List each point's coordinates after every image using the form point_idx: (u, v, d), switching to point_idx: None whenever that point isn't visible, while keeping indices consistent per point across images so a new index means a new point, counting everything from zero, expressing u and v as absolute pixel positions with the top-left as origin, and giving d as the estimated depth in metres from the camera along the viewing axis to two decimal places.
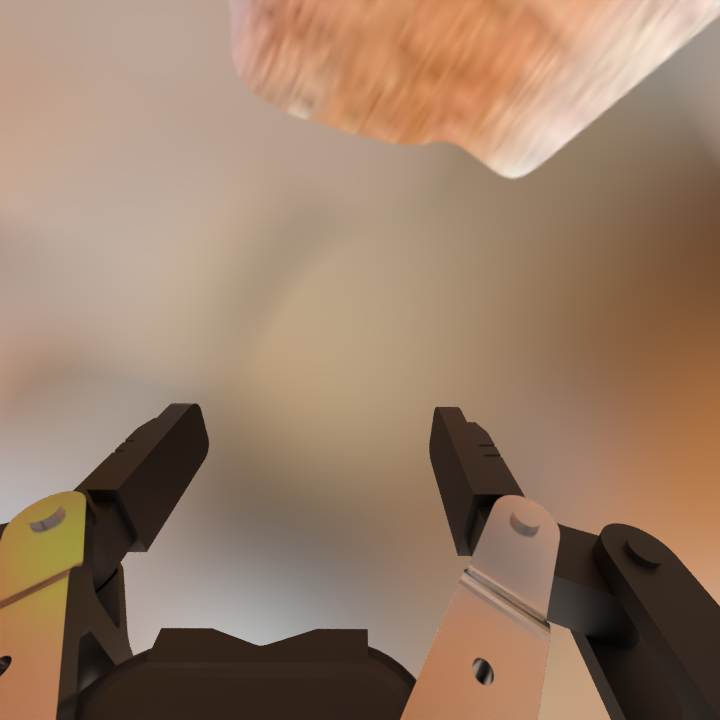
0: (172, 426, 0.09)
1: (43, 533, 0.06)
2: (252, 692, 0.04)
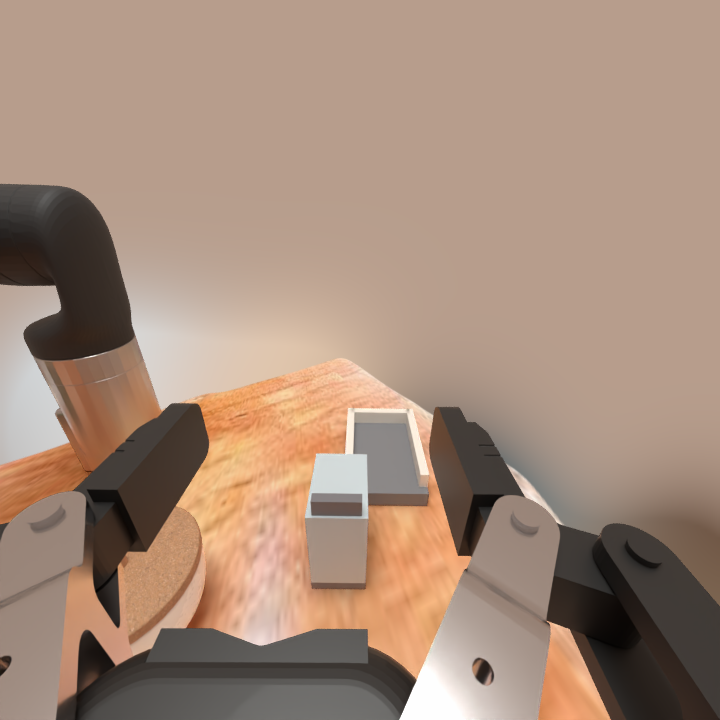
0: (172, 426, 0.09)
1: (43, 533, 0.06)
2: (252, 692, 0.04)
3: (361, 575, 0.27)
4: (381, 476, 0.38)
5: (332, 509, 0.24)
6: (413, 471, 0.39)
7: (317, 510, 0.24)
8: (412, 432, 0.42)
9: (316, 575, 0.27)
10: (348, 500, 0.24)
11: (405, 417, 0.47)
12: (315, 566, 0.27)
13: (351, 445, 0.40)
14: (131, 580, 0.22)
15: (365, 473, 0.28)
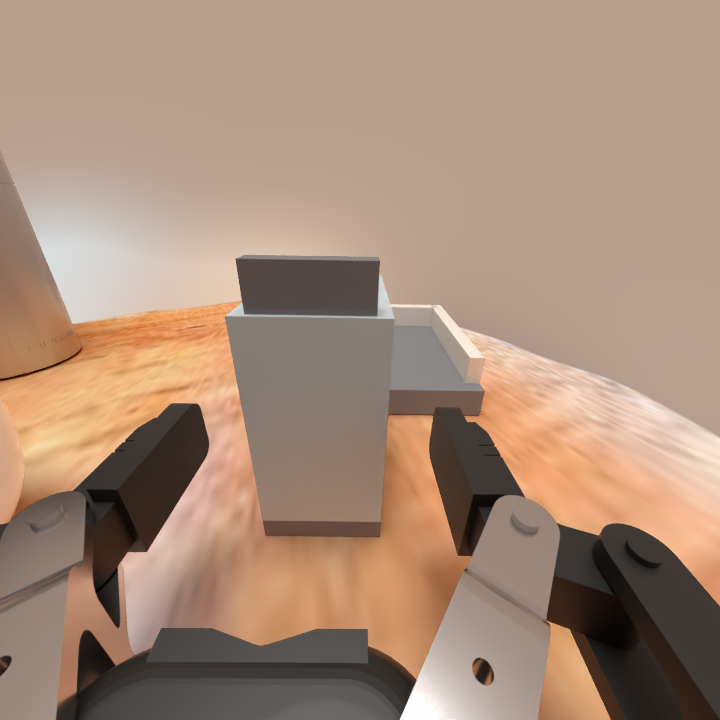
0: (172, 426, 0.09)
1: (43, 533, 0.06)
2: (252, 692, 0.04)
3: (371, 503, 0.12)
4: (399, 371, 0.23)
5: (297, 291, 0.09)
6: (451, 367, 0.24)
7: (258, 294, 0.09)
8: (445, 321, 0.27)
9: (272, 502, 0.12)
10: (341, 260, 0.09)
11: (430, 315, 0.32)
12: (266, 478, 0.12)
13: None
14: None
15: (380, 285, 0.13)
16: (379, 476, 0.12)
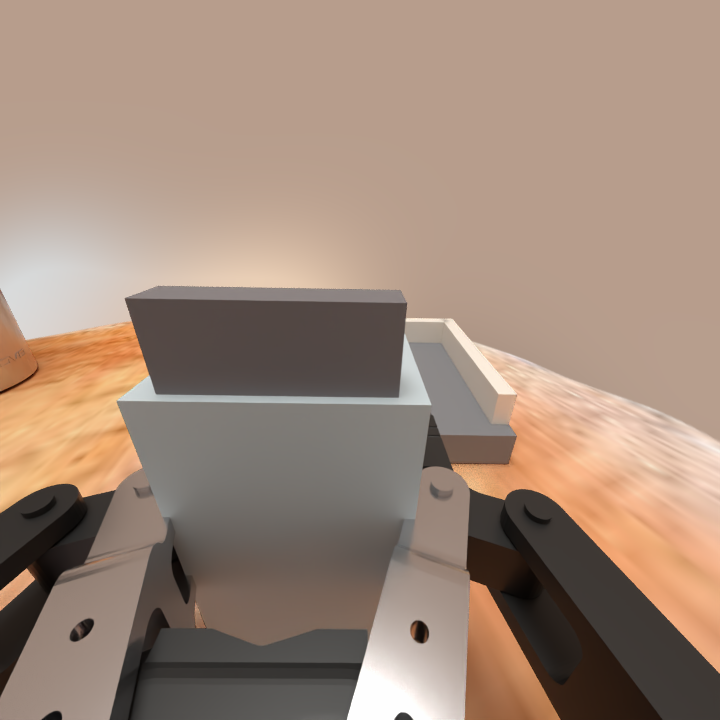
0: None
1: (150, 497, 0.06)
2: (252, 692, 0.04)
3: None
4: None
5: (250, 356, 0.05)
6: (471, 400, 0.20)
7: (178, 362, 0.05)
8: (460, 341, 0.23)
9: None
10: (332, 300, 0.05)
11: (441, 331, 0.28)
12: (221, 619, 0.08)
13: None
14: None
15: None
16: None
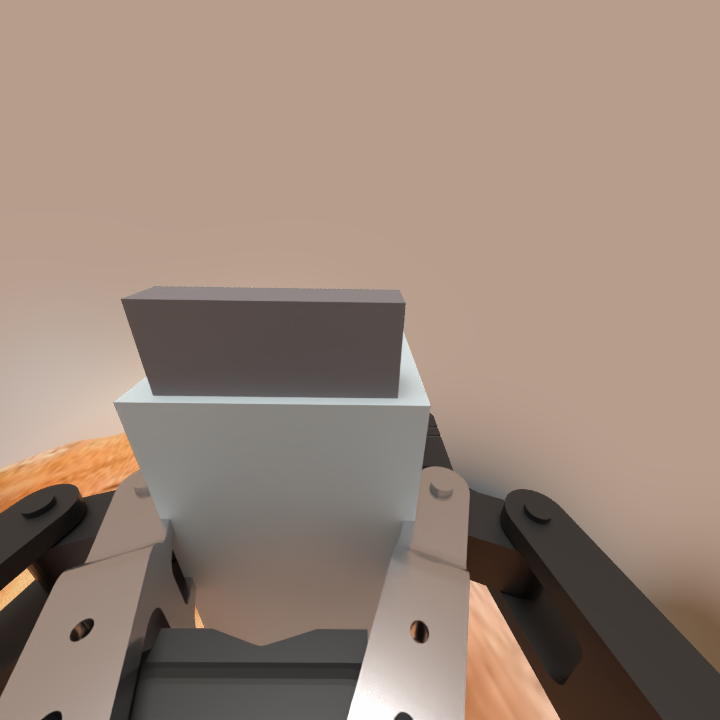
0: None
1: (150, 497, 0.06)
2: (252, 692, 0.04)
3: None
4: None
5: (248, 356, 0.05)
6: None
7: (175, 363, 0.05)
8: None
9: None
10: (330, 300, 0.04)
11: None
12: (220, 621, 0.08)
13: None
14: None
15: None
16: None
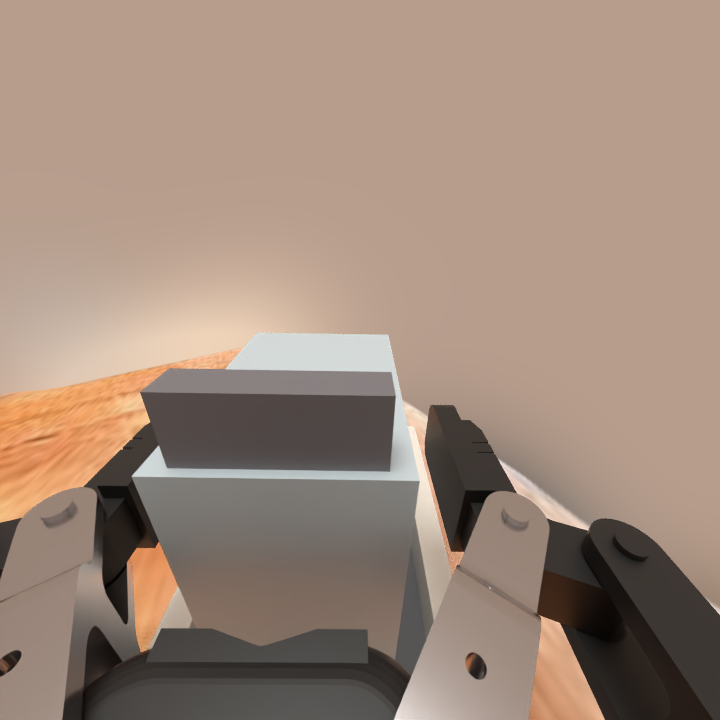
0: None
1: (56, 528, 0.06)
2: (252, 692, 0.04)
3: None
4: None
5: (254, 437, 0.05)
6: None
7: (187, 442, 0.05)
8: None
9: None
10: (328, 390, 0.05)
11: None
12: None
13: None
14: None
15: (389, 363, 0.09)
16: (389, 654, 0.08)
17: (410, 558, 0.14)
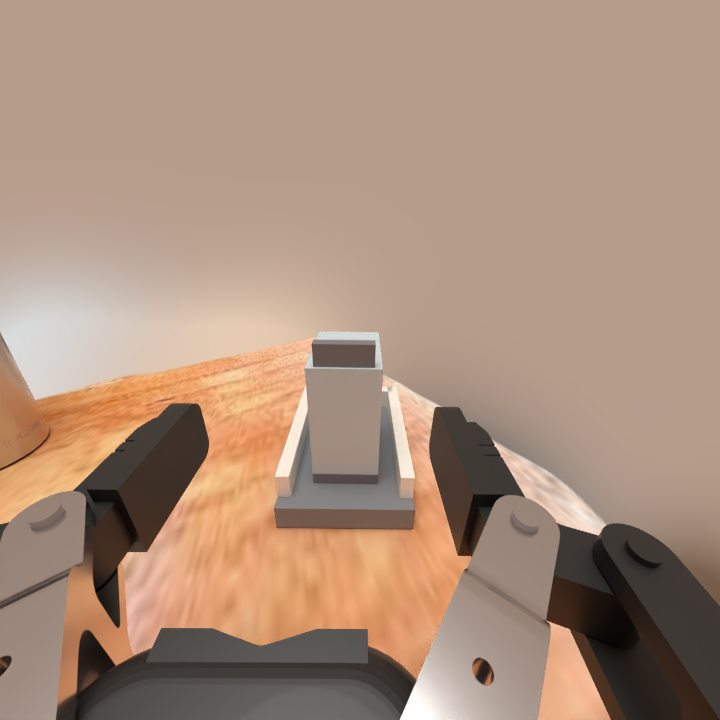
0: (172, 426, 0.09)
1: (43, 533, 0.06)
2: (252, 692, 0.04)
3: (372, 463, 0.23)
4: None
5: (338, 357, 0.19)
6: (391, 473, 0.25)
7: (320, 358, 0.19)
8: (393, 416, 0.28)
9: (318, 462, 0.23)
10: (358, 344, 0.19)
11: (386, 398, 0.33)
12: (317, 448, 0.22)
13: (298, 434, 0.26)
14: None
15: (377, 343, 0.24)
16: (376, 447, 0.22)
17: (390, 443, 0.28)
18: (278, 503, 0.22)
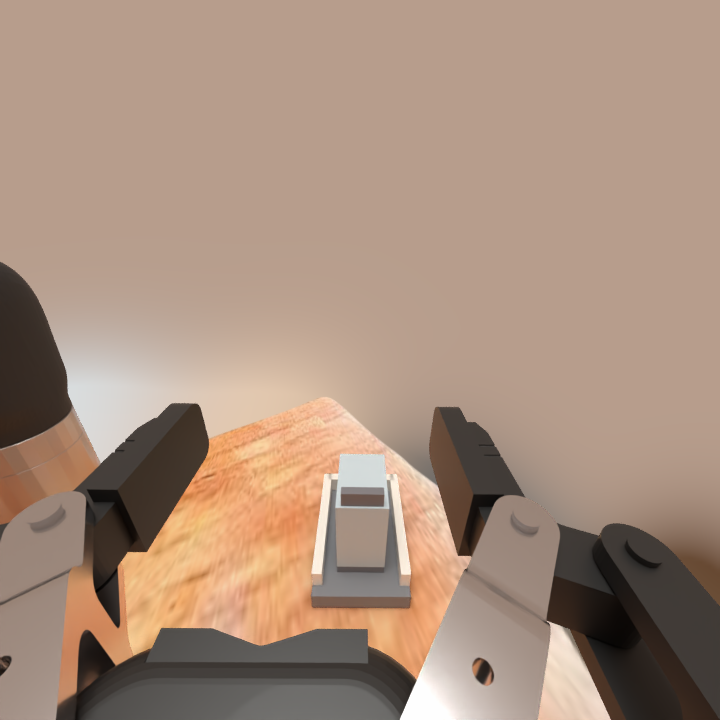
0: (172, 426, 0.09)
1: (43, 533, 0.06)
2: (252, 692, 0.04)
3: (380, 560, 0.32)
4: None
5: (358, 500, 0.28)
6: (394, 561, 0.34)
7: (346, 501, 0.28)
8: (395, 508, 0.37)
9: (341, 560, 0.32)
10: (372, 492, 0.28)
11: (388, 484, 0.42)
12: (341, 552, 0.31)
13: (324, 529, 0.35)
14: None
15: (384, 471, 0.32)
16: (384, 551, 0.31)
17: (392, 531, 0.37)
18: (313, 591, 0.31)
